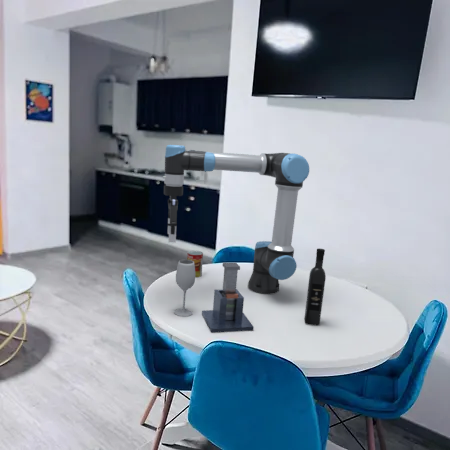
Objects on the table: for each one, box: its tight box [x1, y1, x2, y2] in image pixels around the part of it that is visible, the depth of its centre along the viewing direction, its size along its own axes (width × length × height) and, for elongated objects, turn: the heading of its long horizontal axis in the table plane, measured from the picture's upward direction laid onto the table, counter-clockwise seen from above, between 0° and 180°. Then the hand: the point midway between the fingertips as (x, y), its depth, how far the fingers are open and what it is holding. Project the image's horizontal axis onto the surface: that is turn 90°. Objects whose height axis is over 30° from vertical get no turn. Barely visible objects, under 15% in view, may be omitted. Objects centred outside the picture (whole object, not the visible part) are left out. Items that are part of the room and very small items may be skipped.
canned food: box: [186, 249, 204, 279], centre depth 204 cm, size 8×8×12 cm
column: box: [222, 262, 241, 320], centre depth 152 cm, size 5×5×21 cm
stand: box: [201, 288, 255, 334], centre depth 153 cm, size 16×16×13 cm
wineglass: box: [173, 259, 196, 317], centre depth 157 cm, size 8×8×21 cm
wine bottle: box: [303, 248, 326, 327], centre depth 157 cm, size 6×6×30 cm
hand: (171, 238), depth 161 cm, fingers open, 13 cm apart
